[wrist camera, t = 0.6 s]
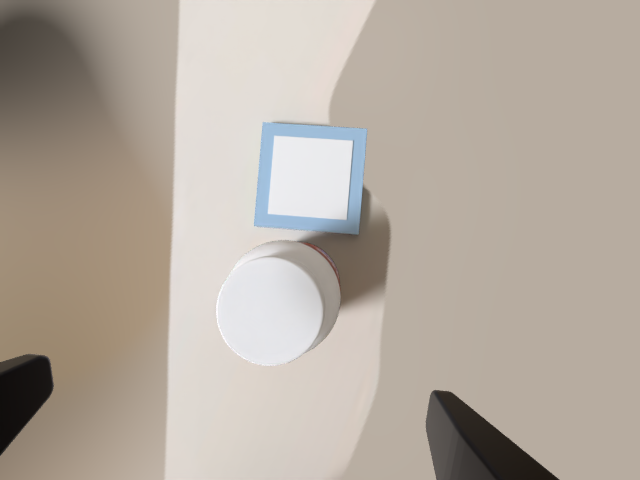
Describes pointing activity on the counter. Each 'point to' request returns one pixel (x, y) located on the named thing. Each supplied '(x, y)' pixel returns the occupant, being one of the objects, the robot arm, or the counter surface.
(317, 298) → the pill bottle
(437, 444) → the robot arm
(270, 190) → the coaster
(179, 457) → the counter surface
